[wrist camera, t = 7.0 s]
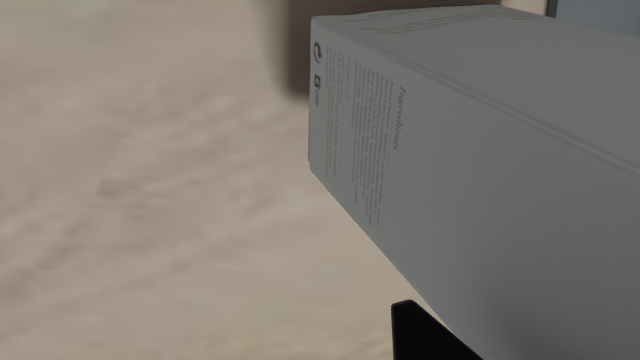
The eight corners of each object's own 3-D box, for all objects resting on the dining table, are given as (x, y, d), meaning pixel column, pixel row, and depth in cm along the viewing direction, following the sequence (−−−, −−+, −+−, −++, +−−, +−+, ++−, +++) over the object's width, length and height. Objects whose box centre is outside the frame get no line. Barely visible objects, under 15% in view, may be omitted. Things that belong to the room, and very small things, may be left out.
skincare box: (304, 166, 18) (679, 675, 6) (305, 1, 15) (1048, 388, 3) (481, 136, 21) (976, 452, 9) (513, -8, 18) (1329, 182, 6)
